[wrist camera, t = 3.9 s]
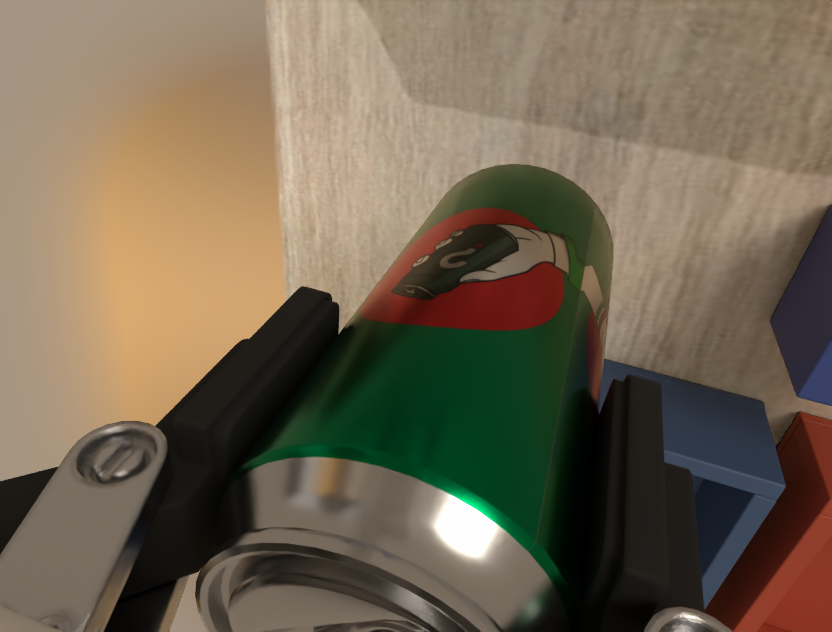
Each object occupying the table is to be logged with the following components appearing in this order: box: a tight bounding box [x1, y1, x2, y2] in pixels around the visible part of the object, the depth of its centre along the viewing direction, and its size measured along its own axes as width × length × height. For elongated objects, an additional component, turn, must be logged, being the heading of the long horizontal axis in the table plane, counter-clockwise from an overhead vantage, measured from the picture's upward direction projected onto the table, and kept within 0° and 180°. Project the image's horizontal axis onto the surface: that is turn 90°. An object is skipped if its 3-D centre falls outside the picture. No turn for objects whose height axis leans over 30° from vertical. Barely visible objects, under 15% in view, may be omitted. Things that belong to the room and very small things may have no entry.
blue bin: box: [599, 359, 786, 610], centre depth 28 cm, size 14×14×5 cm
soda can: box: [195, 164, 614, 632], centre depth 12 cm, size 5×5×12 cm
